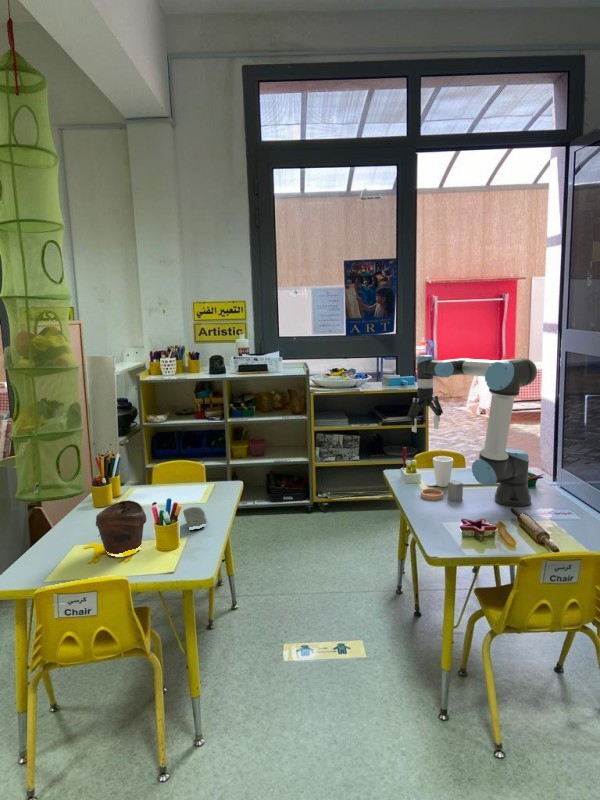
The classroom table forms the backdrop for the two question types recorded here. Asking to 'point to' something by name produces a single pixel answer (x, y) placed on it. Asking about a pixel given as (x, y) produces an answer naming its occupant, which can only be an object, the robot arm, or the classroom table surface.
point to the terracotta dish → (432, 494)
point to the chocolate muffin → (121, 526)
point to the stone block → (455, 491)
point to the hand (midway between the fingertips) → (425, 430)
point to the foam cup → (442, 470)
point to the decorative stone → (195, 516)
